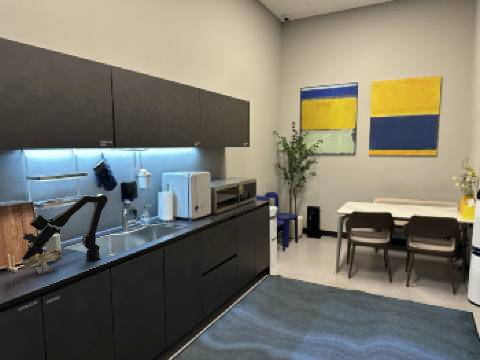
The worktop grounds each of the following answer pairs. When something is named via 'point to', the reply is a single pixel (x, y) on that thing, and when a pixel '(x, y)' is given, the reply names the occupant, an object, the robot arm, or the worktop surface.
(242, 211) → the worktop surface
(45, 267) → the pivot stand
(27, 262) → the lever
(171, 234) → the worktop surface
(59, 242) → the skincare box
